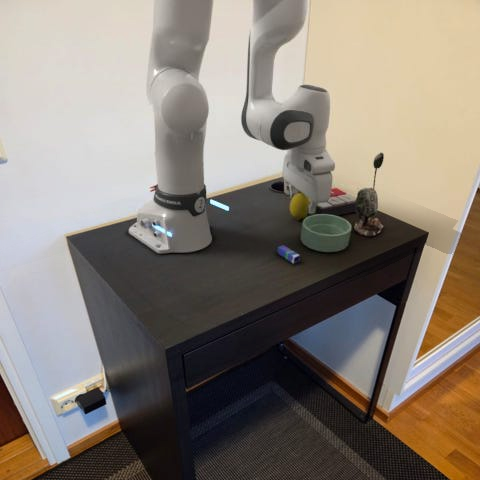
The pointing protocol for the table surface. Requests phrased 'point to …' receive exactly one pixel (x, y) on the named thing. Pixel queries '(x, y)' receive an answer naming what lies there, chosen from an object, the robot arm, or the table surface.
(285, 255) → the eraser
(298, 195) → the lemon
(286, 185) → the coffee cup
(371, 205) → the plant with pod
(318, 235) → the bowl
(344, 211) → the calculator
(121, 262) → the table surface
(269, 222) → the table surface
